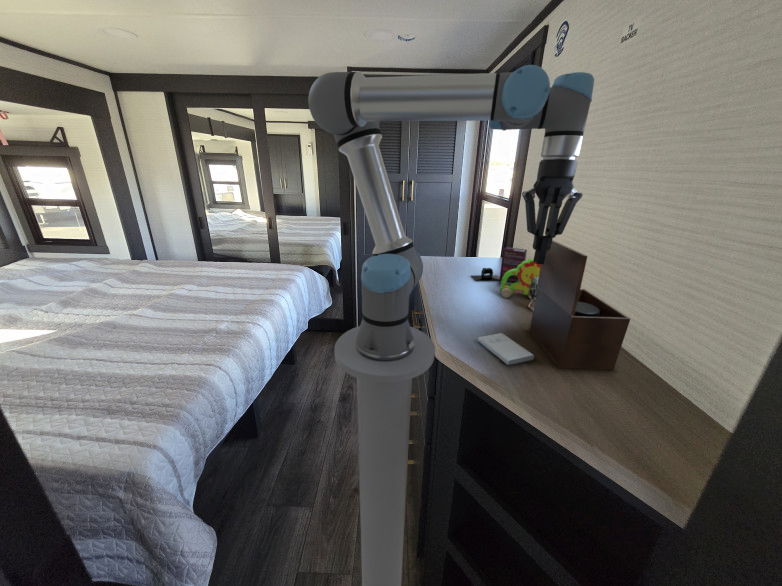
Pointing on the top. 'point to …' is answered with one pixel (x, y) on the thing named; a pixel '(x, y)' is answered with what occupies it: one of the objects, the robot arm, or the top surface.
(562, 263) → the lid
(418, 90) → the robot arm
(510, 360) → the hard drive
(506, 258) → the supplement box
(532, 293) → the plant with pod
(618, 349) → the chest
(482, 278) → the build plate
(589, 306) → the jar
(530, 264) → the toy lion
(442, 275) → the top surface
